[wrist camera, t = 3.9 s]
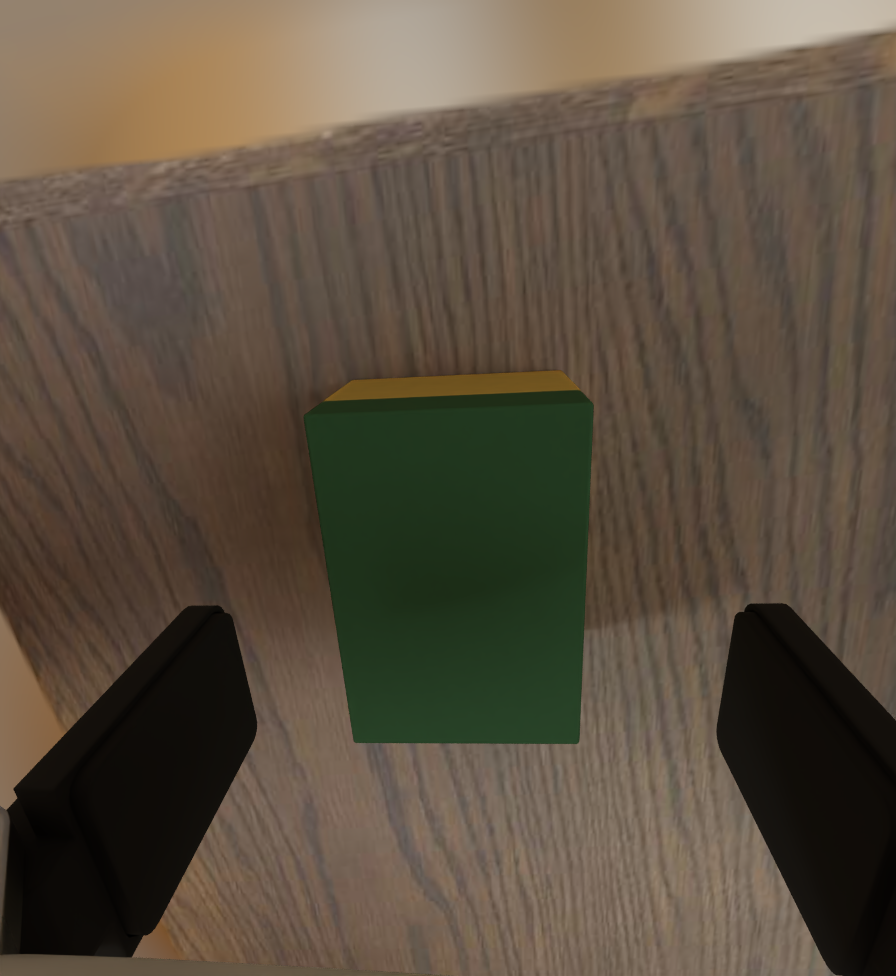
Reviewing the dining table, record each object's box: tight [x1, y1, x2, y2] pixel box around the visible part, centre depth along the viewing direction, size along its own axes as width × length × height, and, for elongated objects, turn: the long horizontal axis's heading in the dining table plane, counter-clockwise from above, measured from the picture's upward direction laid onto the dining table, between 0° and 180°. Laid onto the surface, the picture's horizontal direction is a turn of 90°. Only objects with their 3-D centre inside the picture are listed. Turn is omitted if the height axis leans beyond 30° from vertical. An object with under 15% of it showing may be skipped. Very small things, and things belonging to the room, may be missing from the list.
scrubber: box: [304, 370, 594, 744], centre depth 14 cm, size 9×6×4 cm, turn 3°
